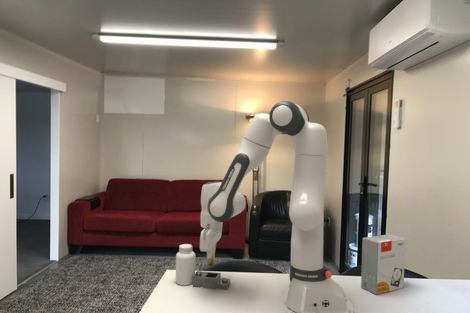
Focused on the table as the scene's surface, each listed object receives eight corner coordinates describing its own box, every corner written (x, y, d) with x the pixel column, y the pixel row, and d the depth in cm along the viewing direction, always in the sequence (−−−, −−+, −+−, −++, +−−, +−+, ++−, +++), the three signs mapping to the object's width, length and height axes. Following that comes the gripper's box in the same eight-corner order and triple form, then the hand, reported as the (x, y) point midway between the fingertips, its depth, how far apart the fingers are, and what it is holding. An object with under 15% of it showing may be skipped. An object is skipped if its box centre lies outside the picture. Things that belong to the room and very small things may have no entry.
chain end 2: (230, 283, 127) (230, 276, 127) (227, 289, 121) (227, 282, 121) (206, 281, 129) (206, 274, 129) (202, 287, 123) (202, 280, 123)
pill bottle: (191, 286, 124) (191, 249, 124) (172, 284, 126) (172, 248, 126) (197, 278, 132) (197, 243, 132) (180, 277, 134) (179, 242, 133)
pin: (215, 263, 127) (215, 244, 127) (213, 266, 124) (213, 246, 124) (208, 262, 127) (208, 243, 127) (206, 265, 125) (206, 245, 124)
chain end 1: (220, 282, 128) (220, 271, 128) (217, 288, 122) (217, 276, 122) (197, 280, 130) (197, 269, 130) (192, 286, 124) (192, 274, 124)
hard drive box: (376, 295, 117) (376, 242, 116) (360, 287, 124) (360, 237, 123) (404, 288, 123) (405, 238, 123) (388, 280, 130) (388, 233, 130)
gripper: (212, 228, 114) (211, 265, 115) (224, 216, 135) (224, 248, 135) (195, 227, 116) (195, 264, 116) (210, 215, 136) (210, 247, 136)
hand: (211, 255), depth 126 cm, fingers closed on pin, 3 cm apart
